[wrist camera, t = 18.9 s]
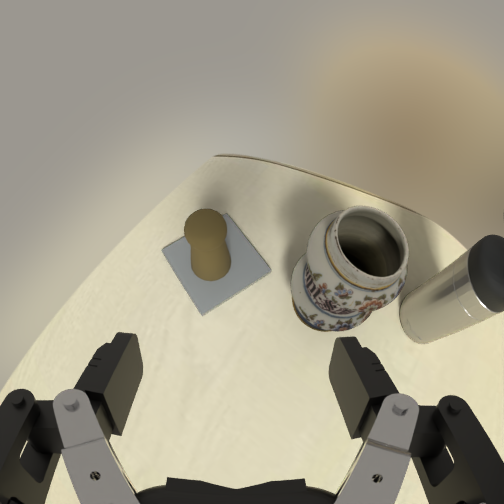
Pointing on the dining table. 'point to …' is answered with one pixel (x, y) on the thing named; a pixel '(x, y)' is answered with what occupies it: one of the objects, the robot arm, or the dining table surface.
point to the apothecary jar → (349, 269)
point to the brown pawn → (208, 244)
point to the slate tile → (236, 280)
